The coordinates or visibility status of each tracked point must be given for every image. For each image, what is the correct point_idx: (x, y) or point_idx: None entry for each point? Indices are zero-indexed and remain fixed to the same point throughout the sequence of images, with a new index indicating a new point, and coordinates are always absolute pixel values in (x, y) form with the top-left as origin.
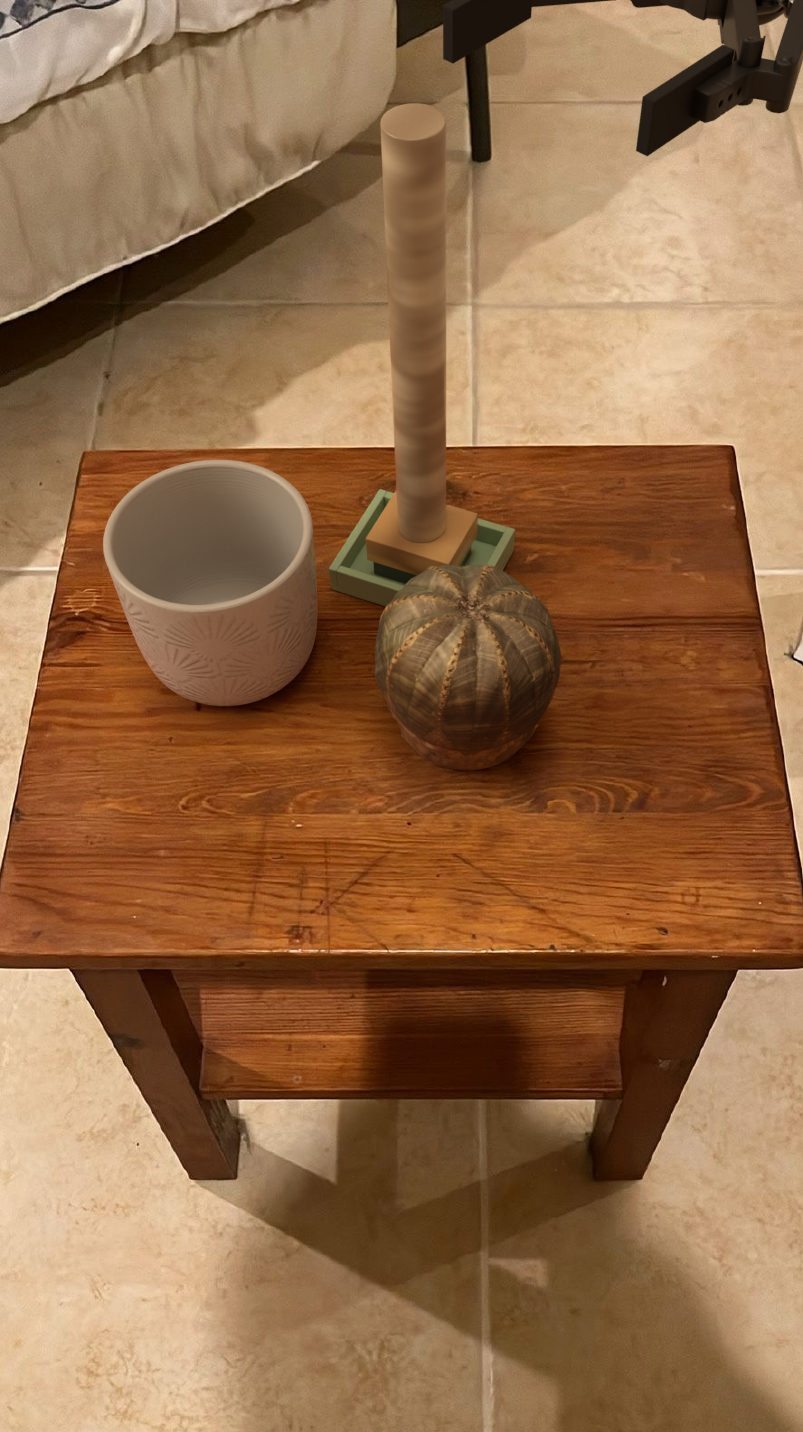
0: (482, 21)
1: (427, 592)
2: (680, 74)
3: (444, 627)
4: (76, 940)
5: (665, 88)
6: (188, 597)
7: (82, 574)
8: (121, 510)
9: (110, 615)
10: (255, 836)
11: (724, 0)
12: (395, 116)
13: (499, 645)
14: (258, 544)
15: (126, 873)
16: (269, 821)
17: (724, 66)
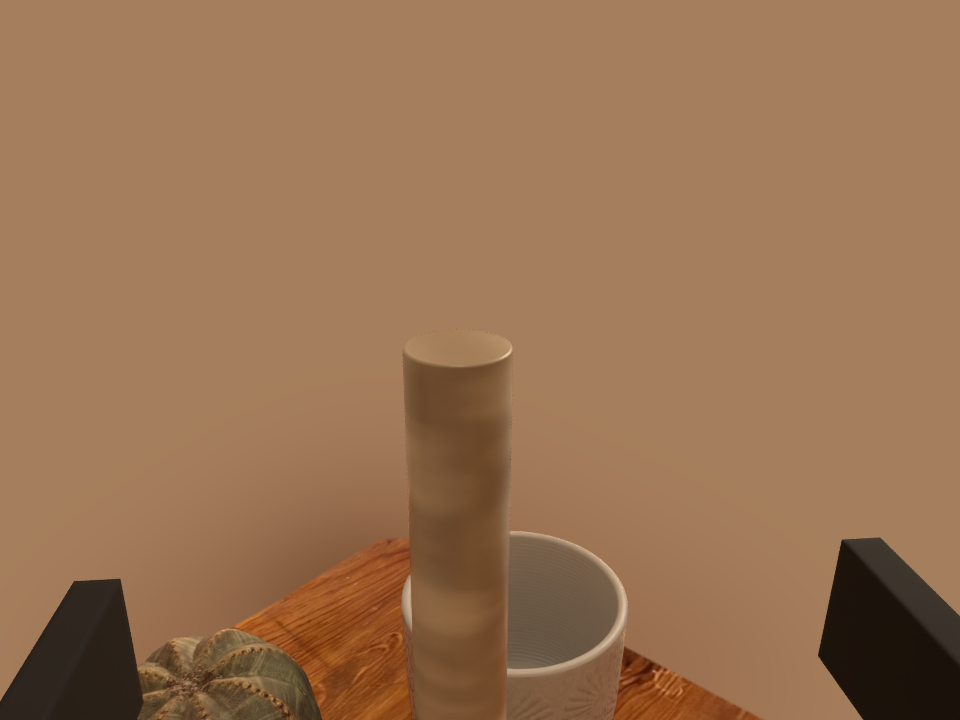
0: (903, 694)
1: (251, 665)
2: (40, 706)
3: (201, 646)
4: (365, 552)
5: (66, 633)
6: None
7: (705, 696)
8: (596, 563)
9: (634, 689)
10: (325, 655)
11: None
12: (488, 342)
13: None
14: None
15: (381, 587)
16: (326, 668)
17: None
